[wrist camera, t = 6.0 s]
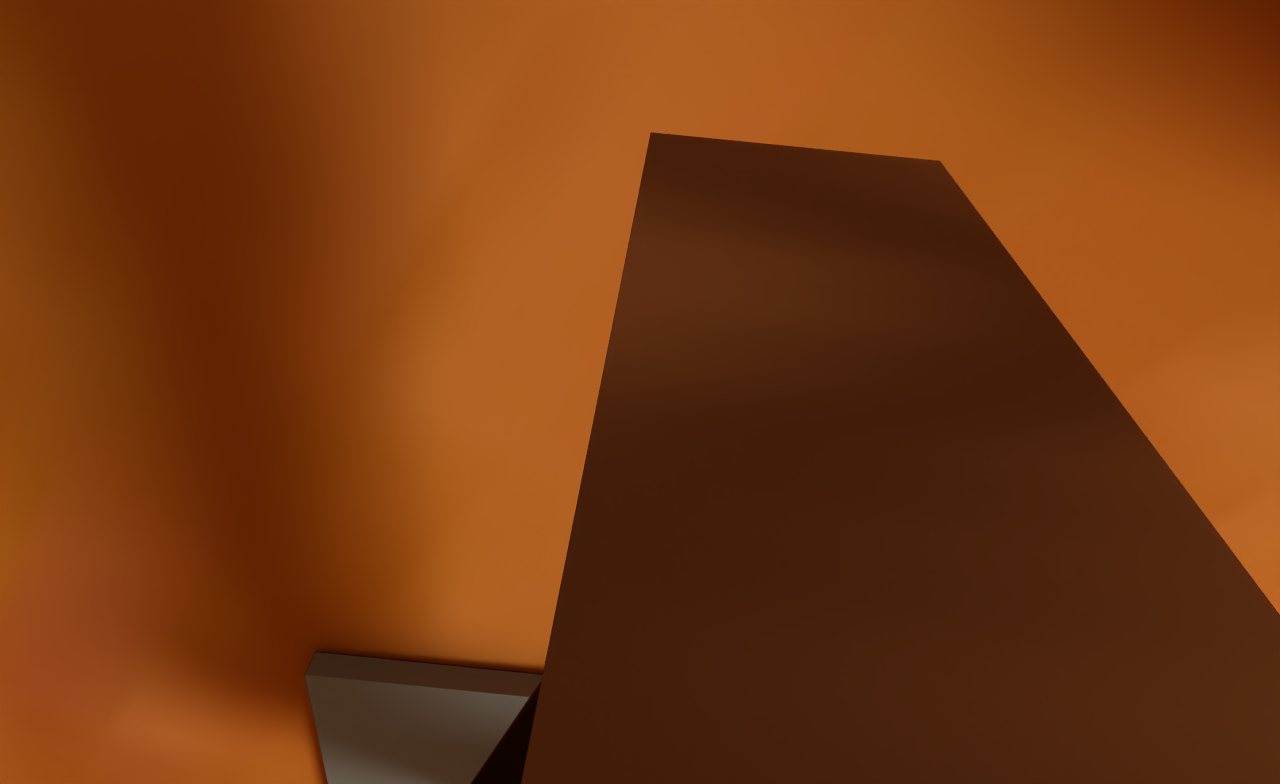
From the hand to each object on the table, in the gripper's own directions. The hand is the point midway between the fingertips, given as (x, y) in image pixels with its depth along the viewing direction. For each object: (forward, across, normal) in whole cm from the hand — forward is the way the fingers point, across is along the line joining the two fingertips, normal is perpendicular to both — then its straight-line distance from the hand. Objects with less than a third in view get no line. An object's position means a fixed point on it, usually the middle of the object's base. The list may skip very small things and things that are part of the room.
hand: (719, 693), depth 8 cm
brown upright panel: (+2, 0, +6) cm, 6 cm away
